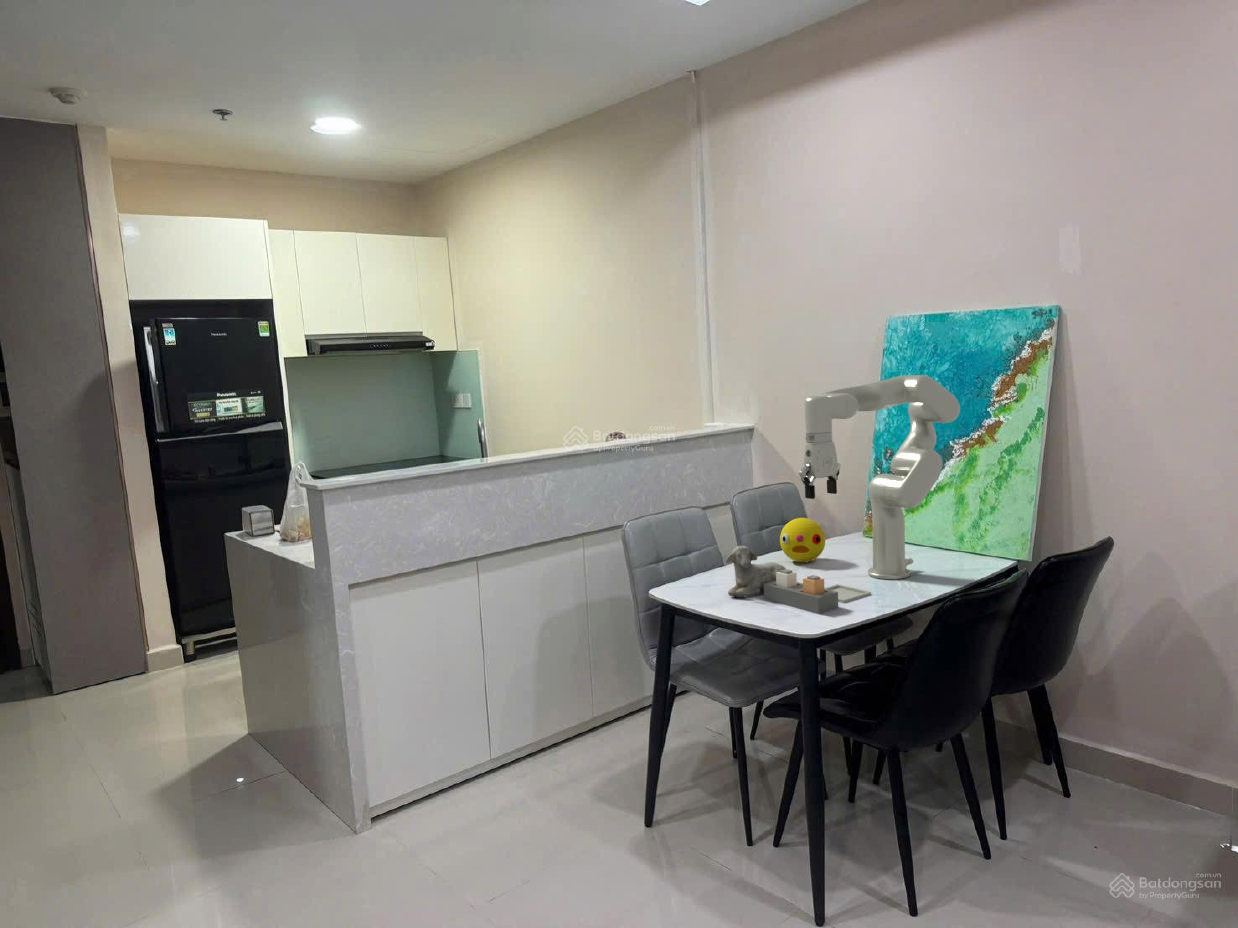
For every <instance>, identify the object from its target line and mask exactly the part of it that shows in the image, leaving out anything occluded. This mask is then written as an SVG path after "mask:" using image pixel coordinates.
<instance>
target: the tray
mask: <svg viewBox="0 0 1238 928" xmlns="http://www.w3.org/2000/svg"><path fill="white" fill-rule="evenodd" d="M824 589H828V590H832V591H836V592H838V603H842V604H845V603H848V602H852V601H855V600H857V599H861V598H864V597H867V596H871V595H872V591H868V590H864V589H861V588H857V587H856V588H855V587H851V586H847V585H842V584H840V583H839V584H838V583H837V584H833V585H831V586H827V587H824Z"/></svg>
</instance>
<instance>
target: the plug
mask: <svg viewBox="0 0 1238 928" xmlns="http://www.w3.org/2000/svg"><path fill="white" fill-rule="evenodd" d="M802 583H803V593H807V594H811V595H818V594H821V593H825V592H824V588H825V578H822V577H821V576H818V575H814V574H812V575H809V576H807V577H804V578H803V579H802Z"/></svg>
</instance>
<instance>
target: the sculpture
mask: <svg viewBox="0 0 1238 928" xmlns="http://www.w3.org/2000/svg"><path fill="white" fill-rule="evenodd" d="M757 560H758V556H757V554H756V553H755V552H754V551H753V550H752V549H750V548H749V547H748V546H745V545H737V546H735V547H734V548H733V549H732V552H731V553H730V554H729V555H728V556H727V558H726V559H725V563H726V564H729V563H733V567H734V575H735V578H734V579H735V582H736V583H735V585H734V586H733V587H731V588H730V589H729V590H728V591H727V594H728V596H730V597H737V598H747V597H753V596H754V597H755V596H759V595H764V584H766V583H769V582H773V581H776V572H780V570H784V569H787V568H786V567H785V566H784V565H782V564H780V563H777V562H773V561H771V562H764V563H759V564H755V563H752V562H753V561H757Z"/></svg>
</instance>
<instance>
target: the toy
mask: <svg viewBox="0 0 1238 928" xmlns="http://www.w3.org/2000/svg"><path fill="white" fill-rule="evenodd" d="M784 525H785V526H783V528H782V530H781V532H780V536H779V543H780V547H781V549H782V551H783V553H784V554H785V556H786V557H788V558H789V559H790V560H792V561H795V562H796V563H809V562H812V561H814V560H817V558H818V557H820V556H821V554H822V553H823V551H824V550H825V546H826V535H825V533H824V530H823V527H821V525H820V524H819V523H818V522H816V521H815V520H813V519H811V518H806V517H798V518H794V519H792V520H790V521H789V522H787V523H786V524H784Z"/></svg>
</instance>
